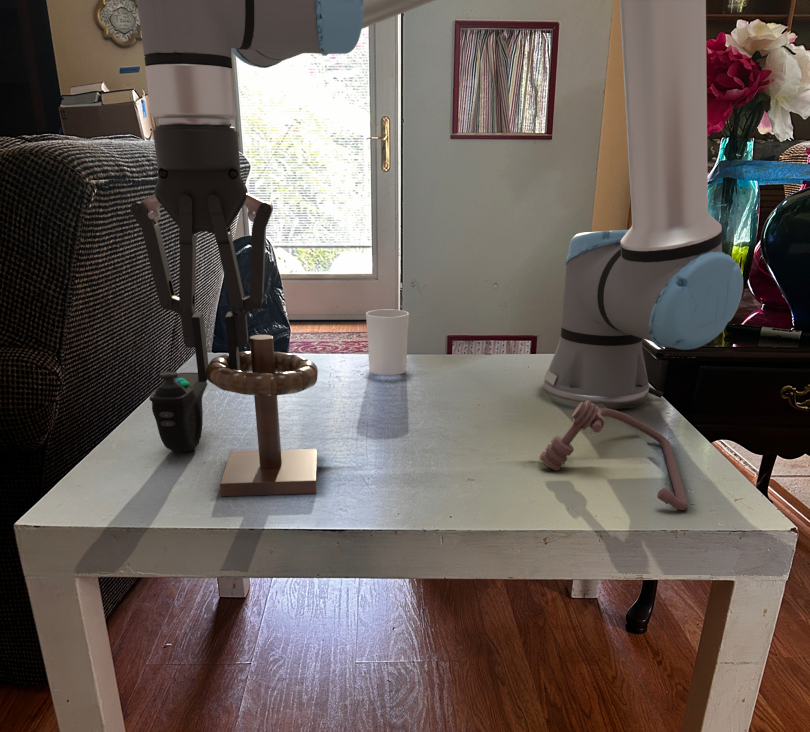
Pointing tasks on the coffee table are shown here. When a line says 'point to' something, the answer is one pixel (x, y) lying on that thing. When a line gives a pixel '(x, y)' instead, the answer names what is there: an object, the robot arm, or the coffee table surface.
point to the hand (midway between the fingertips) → (220, 377)
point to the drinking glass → (387, 341)
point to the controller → (179, 410)
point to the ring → (263, 375)
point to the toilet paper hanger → (593, 417)
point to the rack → (268, 446)
